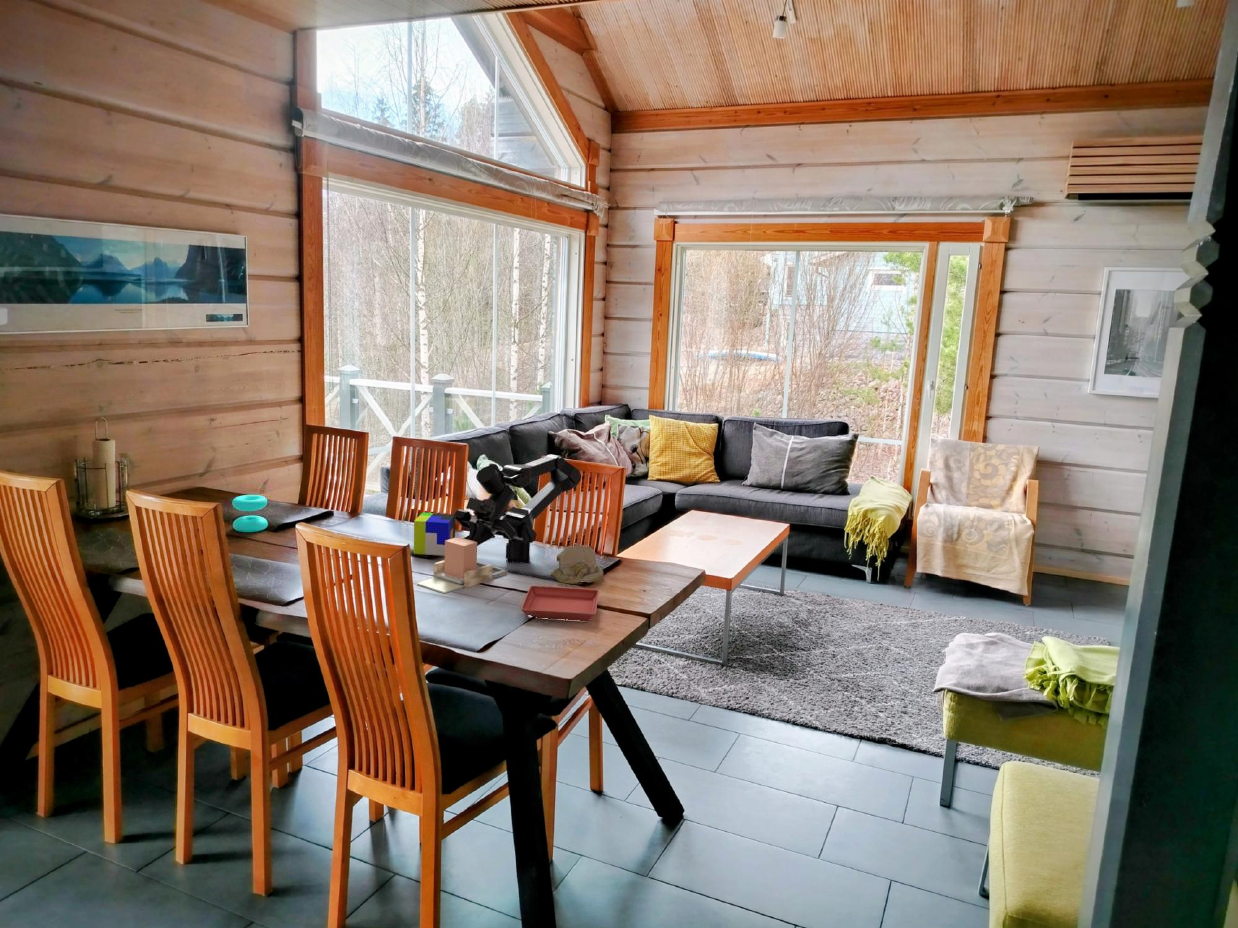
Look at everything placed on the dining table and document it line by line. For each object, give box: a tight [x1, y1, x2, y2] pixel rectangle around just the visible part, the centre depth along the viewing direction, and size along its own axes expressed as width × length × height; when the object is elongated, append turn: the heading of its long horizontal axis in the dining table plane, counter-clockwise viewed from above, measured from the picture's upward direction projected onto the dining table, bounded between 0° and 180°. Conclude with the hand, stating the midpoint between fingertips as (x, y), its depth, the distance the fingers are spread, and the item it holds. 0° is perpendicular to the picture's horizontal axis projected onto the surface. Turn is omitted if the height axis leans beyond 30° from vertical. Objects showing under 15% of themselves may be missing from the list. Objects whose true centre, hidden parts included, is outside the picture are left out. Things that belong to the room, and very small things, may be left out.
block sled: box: [436, 536, 478, 585], centre depth 235 cm, size 9×9×10 cm
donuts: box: [231, 494, 269, 533], centre depth 270 cm, size 10×10×10 cm
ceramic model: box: [550, 542, 604, 585], centre depth 243 cm, size 14×11×10 cm
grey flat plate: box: [477, 560, 508, 580], centre depth 243 cm, size 6×12×1 cm, turn 56°
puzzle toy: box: [413, 512, 456, 557], centre depth 260 cm, size 10×10×10 cm
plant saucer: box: [520, 585, 600, 622], centre depth 218 cm, size 18×18×3 cm
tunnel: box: [433, 559, 494, 589], centre depth 236 cm, size 10×12×4 cm
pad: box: [416, 577, 465, 594], centre depth 230 cm, size 7×10×1 cm
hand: (468, 549), depth 237 cm, fingers closed, pressing on block sled
